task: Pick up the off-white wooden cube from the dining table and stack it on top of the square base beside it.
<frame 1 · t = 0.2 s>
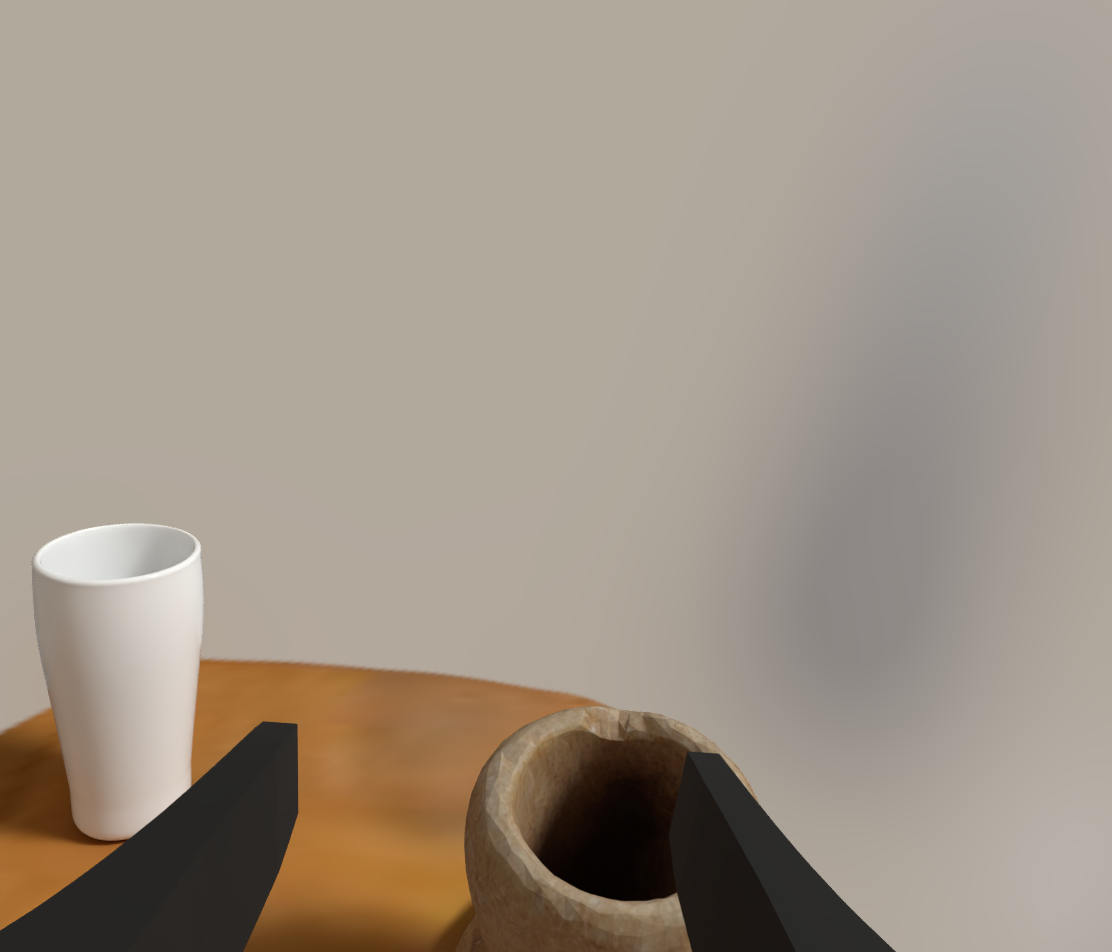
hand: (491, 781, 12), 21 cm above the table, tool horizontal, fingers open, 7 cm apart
drinking glass: (134, 808, 35), on the table
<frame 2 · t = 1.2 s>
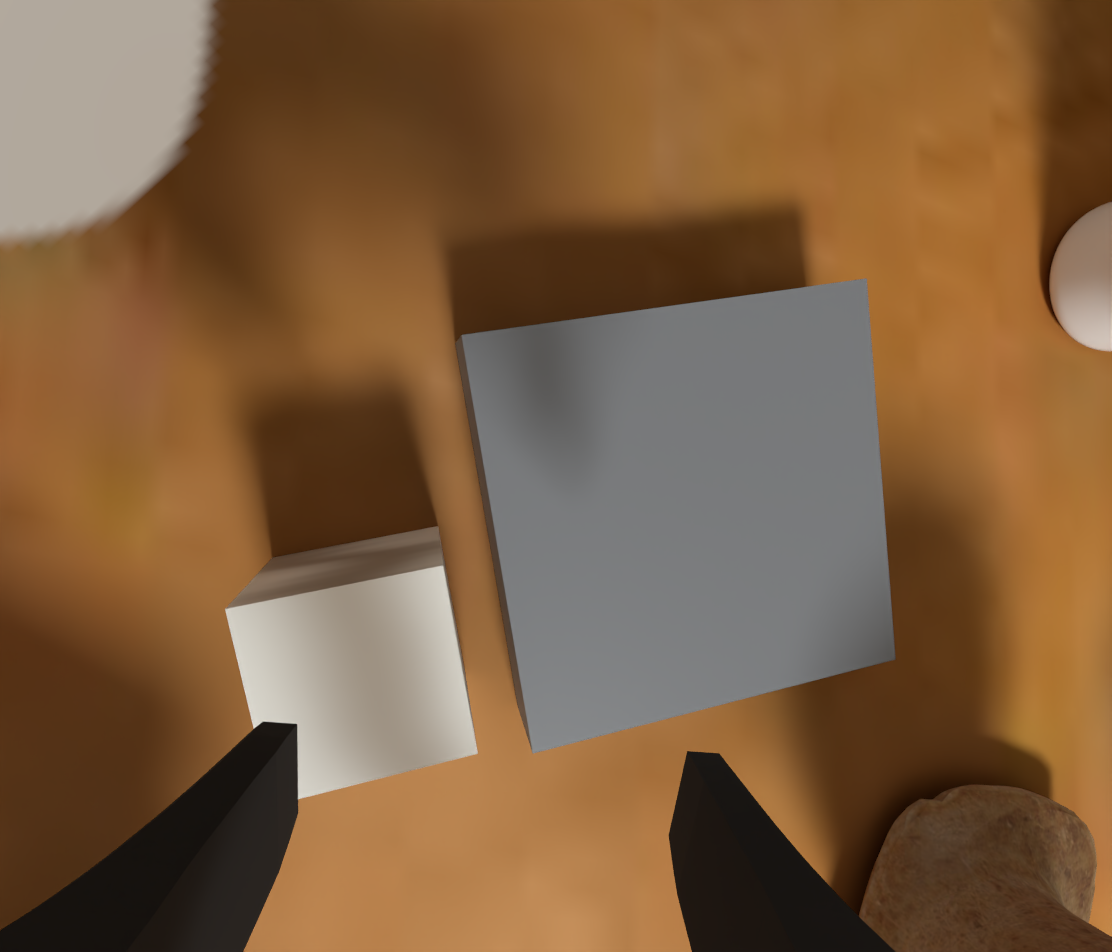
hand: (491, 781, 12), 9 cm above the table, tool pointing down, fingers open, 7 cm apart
base: (663, 498, 22), on the table
drinking glass: (1093, 281, 25), on the table
cube: (372, 617, 21), on the table
stone cup: (906, 936, 27), on the table
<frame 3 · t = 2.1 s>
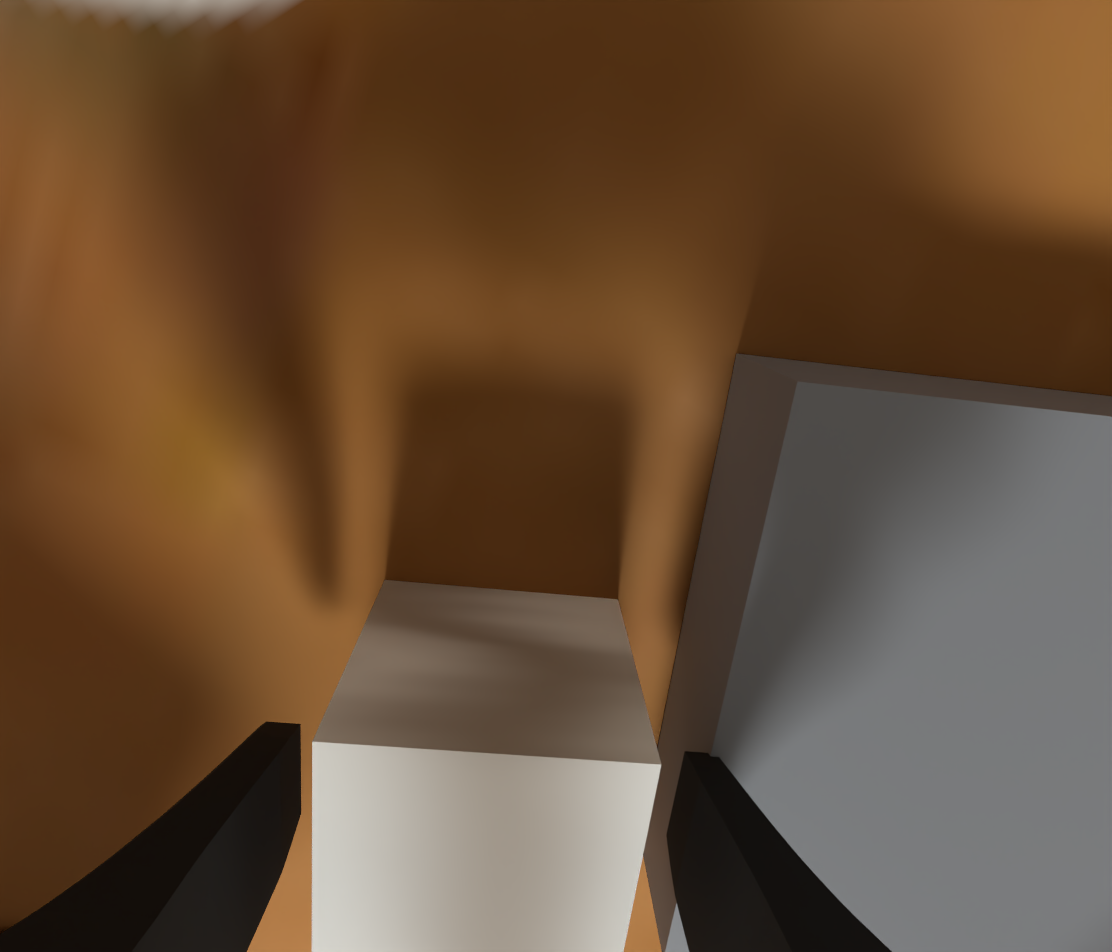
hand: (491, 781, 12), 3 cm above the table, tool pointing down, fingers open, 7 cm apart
base: (939, 646, 15), on the table
cube: (492, 685, 15), on the table
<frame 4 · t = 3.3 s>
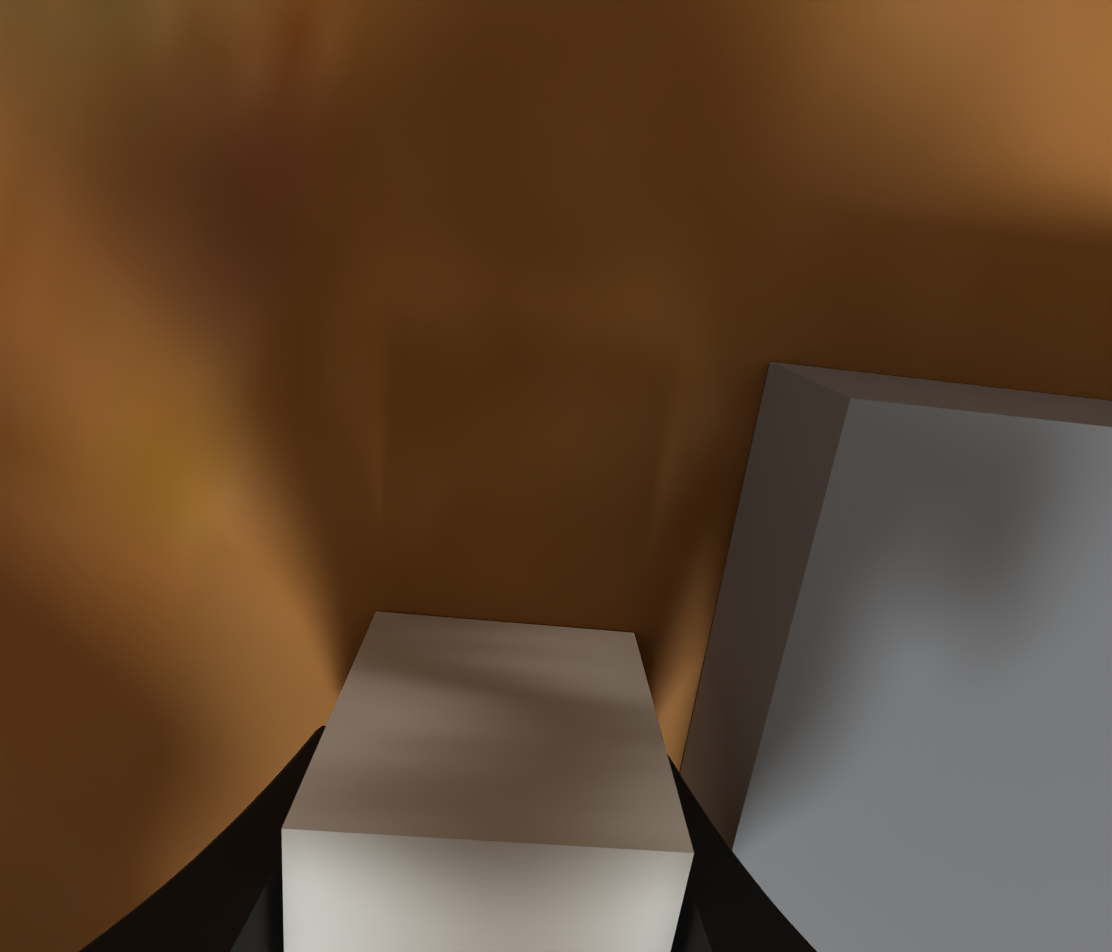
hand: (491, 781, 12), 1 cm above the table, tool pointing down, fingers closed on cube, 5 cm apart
base: (988, 684, 14), on the table
cube: (495, 728, 13), on the table, touching gripper
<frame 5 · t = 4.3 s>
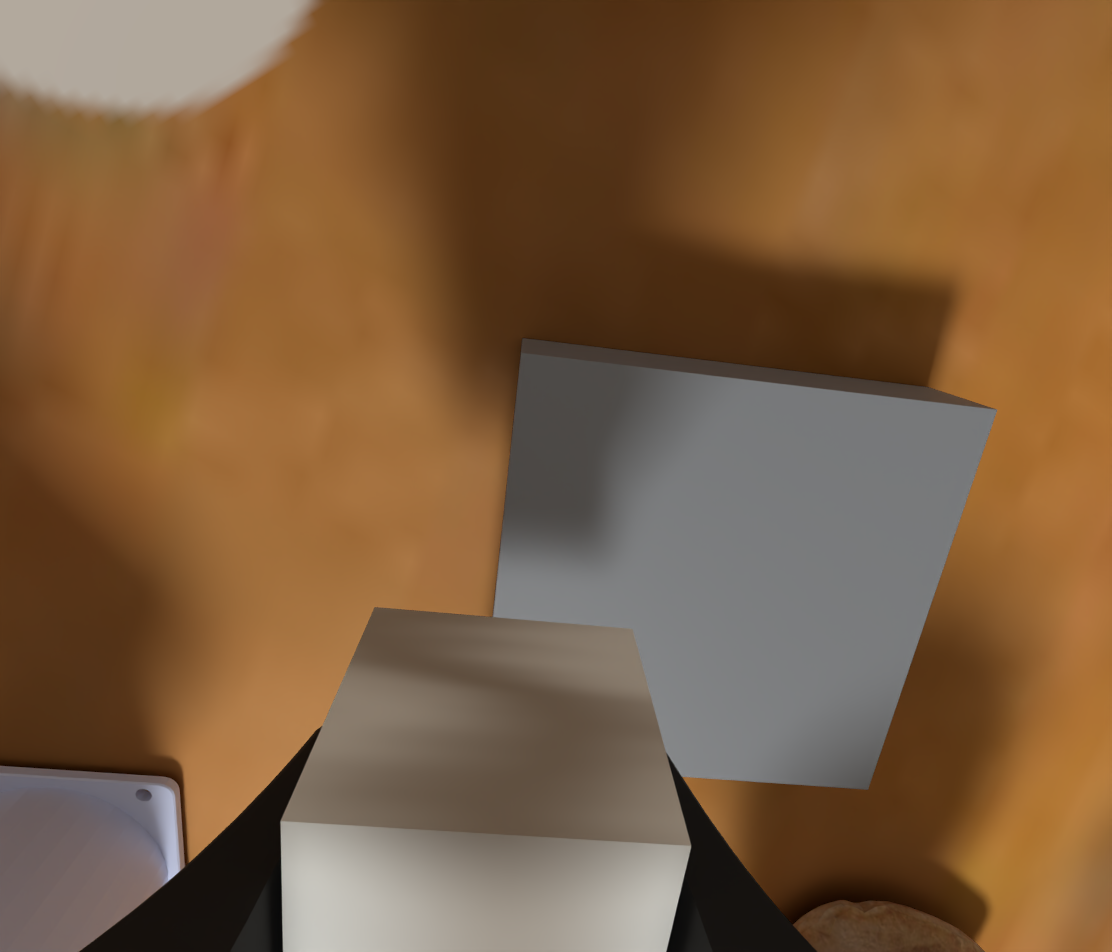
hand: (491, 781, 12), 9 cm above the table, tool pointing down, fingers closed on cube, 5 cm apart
base: (691, 552, 21), on the table
cube: (494, 724, 14), point 7 cm above the table, touching gripper
when the fingers open (5 cm above the table, at t = 5.9 s): cube stays where it is, resting on base.
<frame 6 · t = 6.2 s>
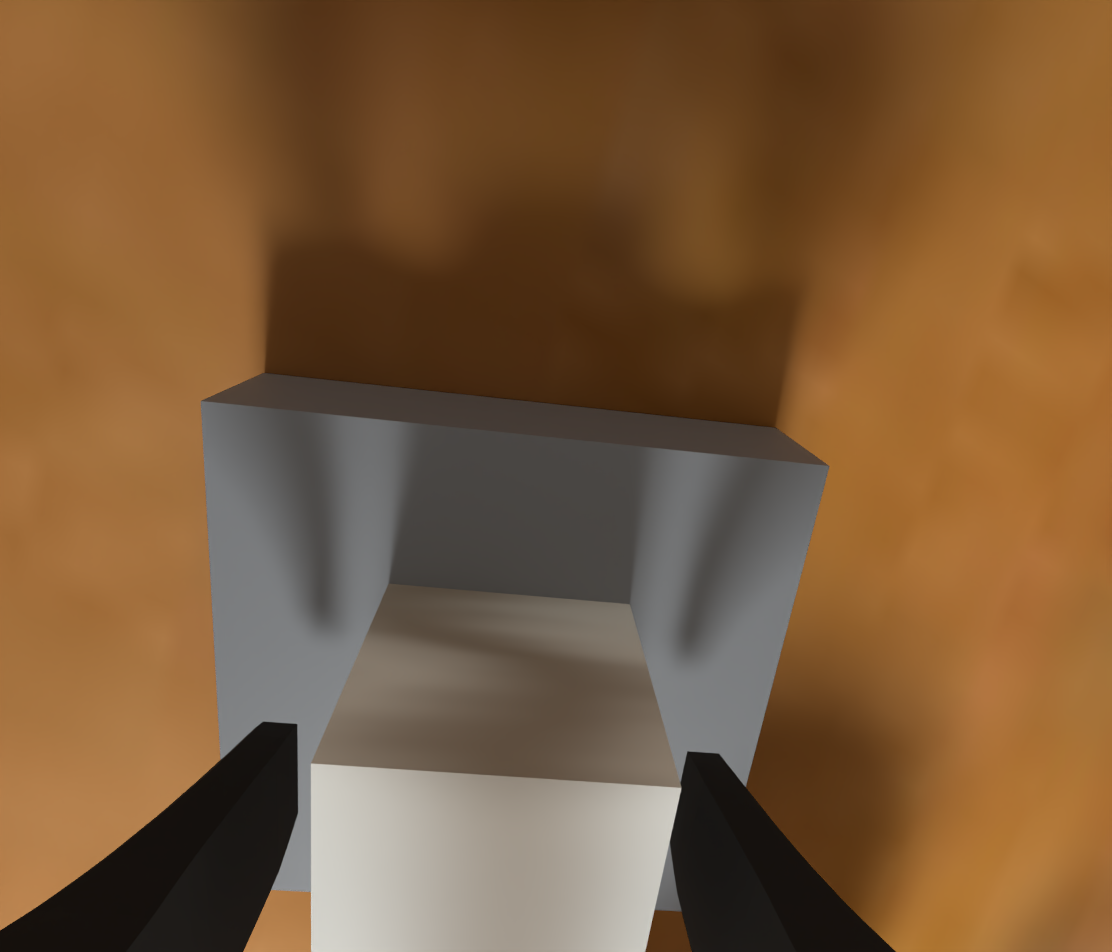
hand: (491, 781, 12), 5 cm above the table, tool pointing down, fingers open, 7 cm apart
base: (503, 624, 17), on the table
cube: (500, 695, 14), point 3 cm above the table, touching base
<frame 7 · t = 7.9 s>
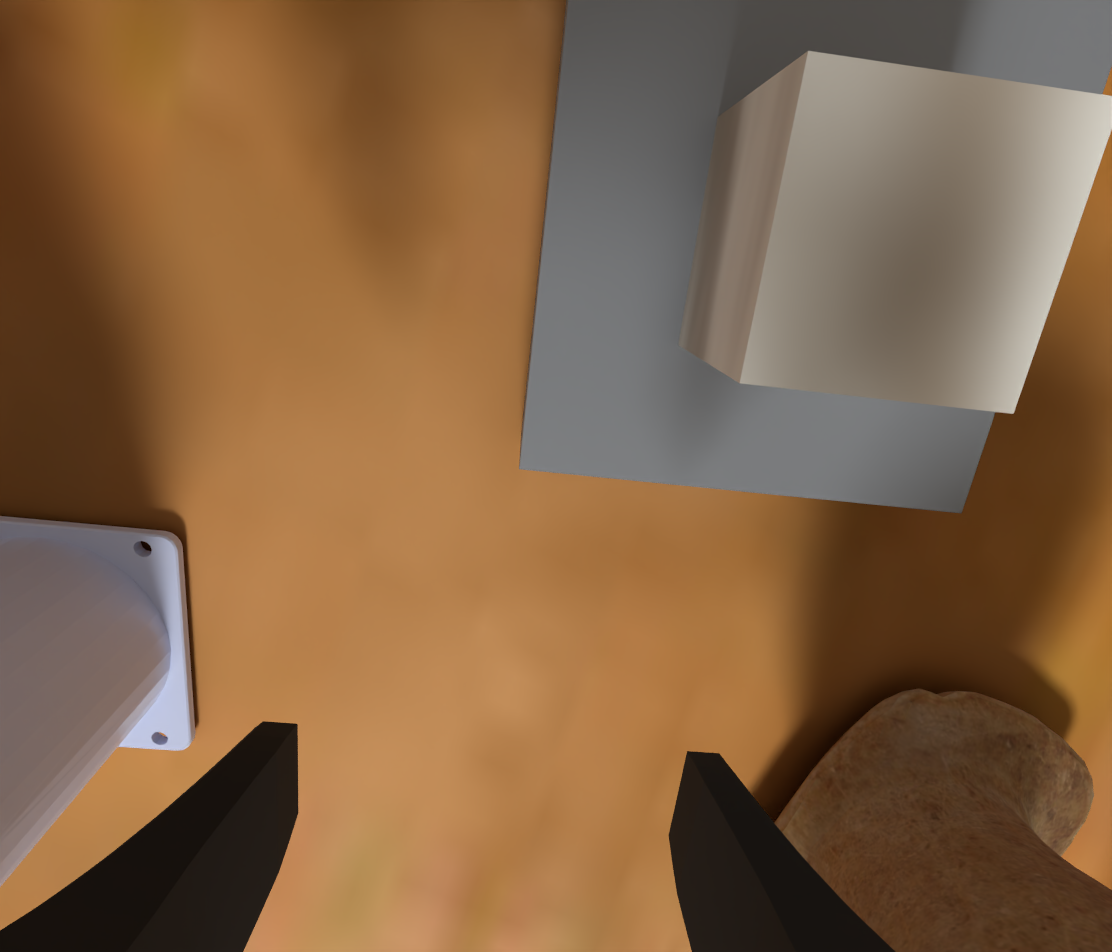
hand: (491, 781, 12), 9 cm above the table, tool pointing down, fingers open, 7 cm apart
base: (757, 253, 18), on the table
cube: (800, 250, 15), point 3 cm above the table, touching base
stone cup: (845, 821, 25), on the table
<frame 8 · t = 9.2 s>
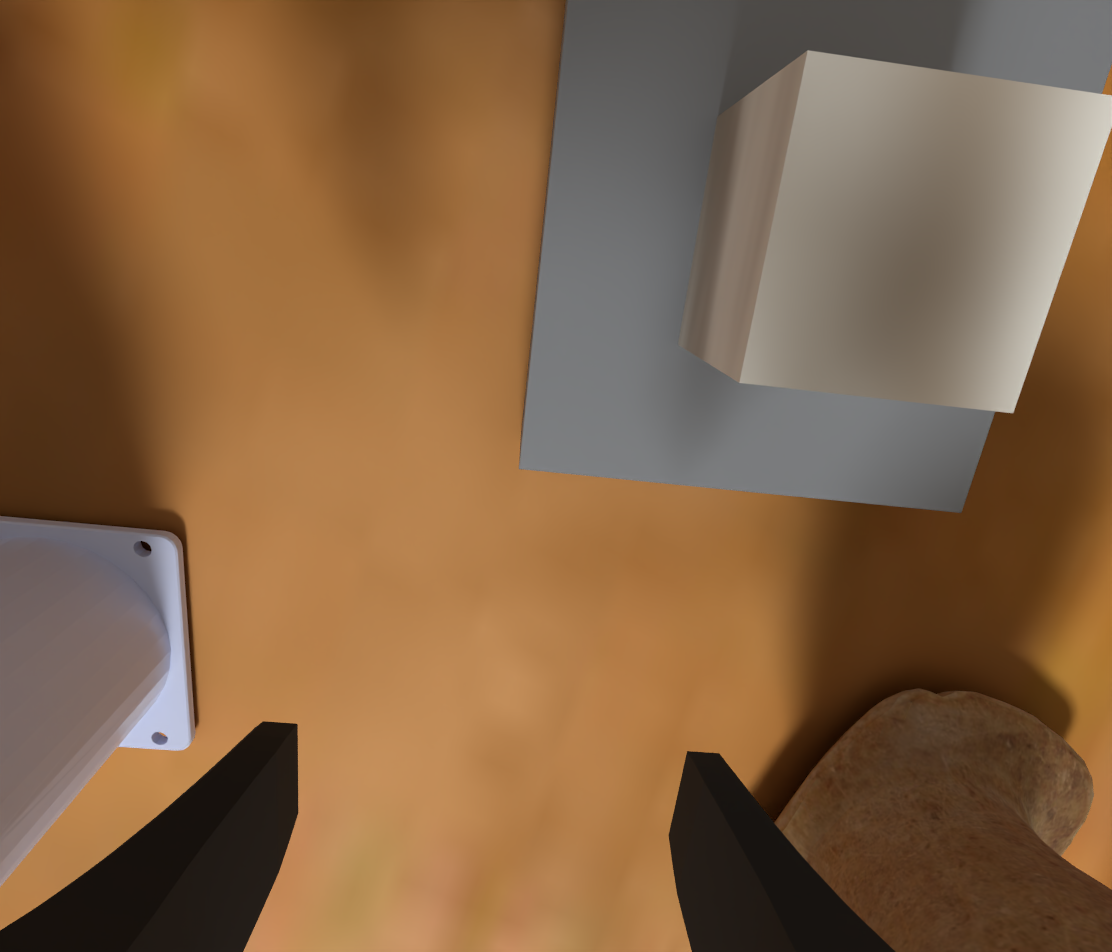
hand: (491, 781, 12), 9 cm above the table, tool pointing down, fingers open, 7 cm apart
base: (756, 253, 18), on the table
cube: (800, 249, 15), point 3 cm above the table, touching base
stone cup: (845, 820, 25), on the table
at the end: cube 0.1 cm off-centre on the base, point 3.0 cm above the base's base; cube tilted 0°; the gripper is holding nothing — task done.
